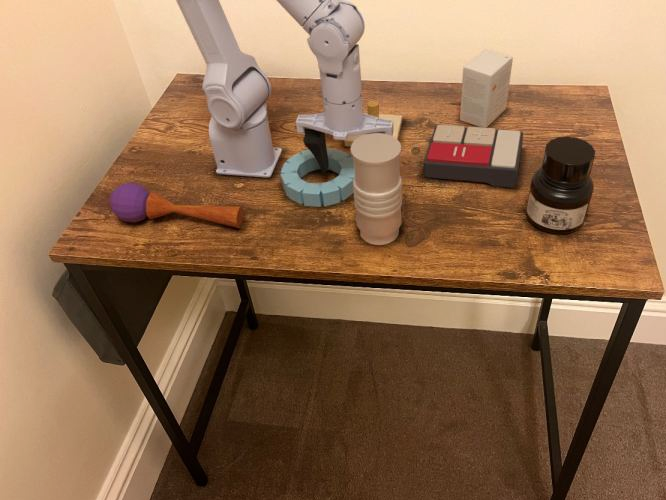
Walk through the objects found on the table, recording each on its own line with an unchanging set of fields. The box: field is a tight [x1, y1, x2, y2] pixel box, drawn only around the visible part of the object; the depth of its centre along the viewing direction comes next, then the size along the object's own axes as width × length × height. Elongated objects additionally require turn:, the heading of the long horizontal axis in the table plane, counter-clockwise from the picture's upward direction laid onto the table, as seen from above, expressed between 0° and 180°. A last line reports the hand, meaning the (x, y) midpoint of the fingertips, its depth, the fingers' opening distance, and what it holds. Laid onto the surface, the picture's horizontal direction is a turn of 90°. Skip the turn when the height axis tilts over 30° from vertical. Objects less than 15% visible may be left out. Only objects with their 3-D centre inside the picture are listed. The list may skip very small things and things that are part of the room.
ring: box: [280, 147, 355, 208], centre depth 101 cm, size 12×12×3 cm
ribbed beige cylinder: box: [350, 133, 403, 246], centre depth 88 cm, size 7×7×15 cm
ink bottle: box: [525, 136, 596, 235], centre depth 90 cm, size 10×9×12 cm
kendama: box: [109, 182, 245, 229], centre depth 94 cm, size 6×6×20 cm
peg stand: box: [343, 100, 403, 148], centre depth 109 cm, size 9×9×6 cm
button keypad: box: [423, 124, 524, 189], centre depth 103 cm, size 11×4×15 cm
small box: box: [459, 48, 514, 128], centre depth 110 cm, size 8×6×10 cm
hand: (348, 171), depth 99 cm, fingers open, 7 cm apart
